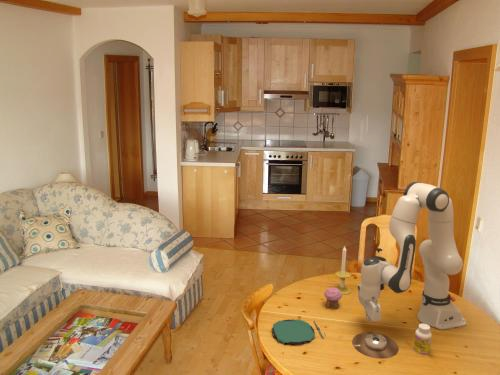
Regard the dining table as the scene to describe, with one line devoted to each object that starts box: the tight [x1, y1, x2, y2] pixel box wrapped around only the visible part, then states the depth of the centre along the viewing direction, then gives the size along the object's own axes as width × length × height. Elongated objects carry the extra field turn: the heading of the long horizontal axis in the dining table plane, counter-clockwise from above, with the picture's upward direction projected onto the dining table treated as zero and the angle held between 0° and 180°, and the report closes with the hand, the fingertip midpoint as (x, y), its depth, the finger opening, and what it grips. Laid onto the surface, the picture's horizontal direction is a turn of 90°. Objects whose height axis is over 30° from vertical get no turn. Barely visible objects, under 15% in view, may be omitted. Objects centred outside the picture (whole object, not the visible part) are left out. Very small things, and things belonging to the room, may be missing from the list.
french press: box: [369, 247, 387, 291], centre depth 257 cm, size 12×9×23 cm
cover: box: [365, 333, 387, 351], centre depth 201 cm, size 9×9×3 cm
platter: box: [351, 331, 400, 360], centre depth 202 cm, size 20×20×1 cm
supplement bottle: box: [413, 323, 433, 356], centre depth 197 cm, size 7×7×13 cm
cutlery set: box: [271, 319, 327, 345], centre depth 213 cm, size 20×30×2 cm, turn 99°
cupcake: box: [324, 286, 343, 309], centre depth 237 cm, size 9×9×10 cm
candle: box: [334, 245, 352, 295], centre depth 252 cm, size 10×10×27 cm
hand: (368, 319), depth 212 cm, fingers closed
